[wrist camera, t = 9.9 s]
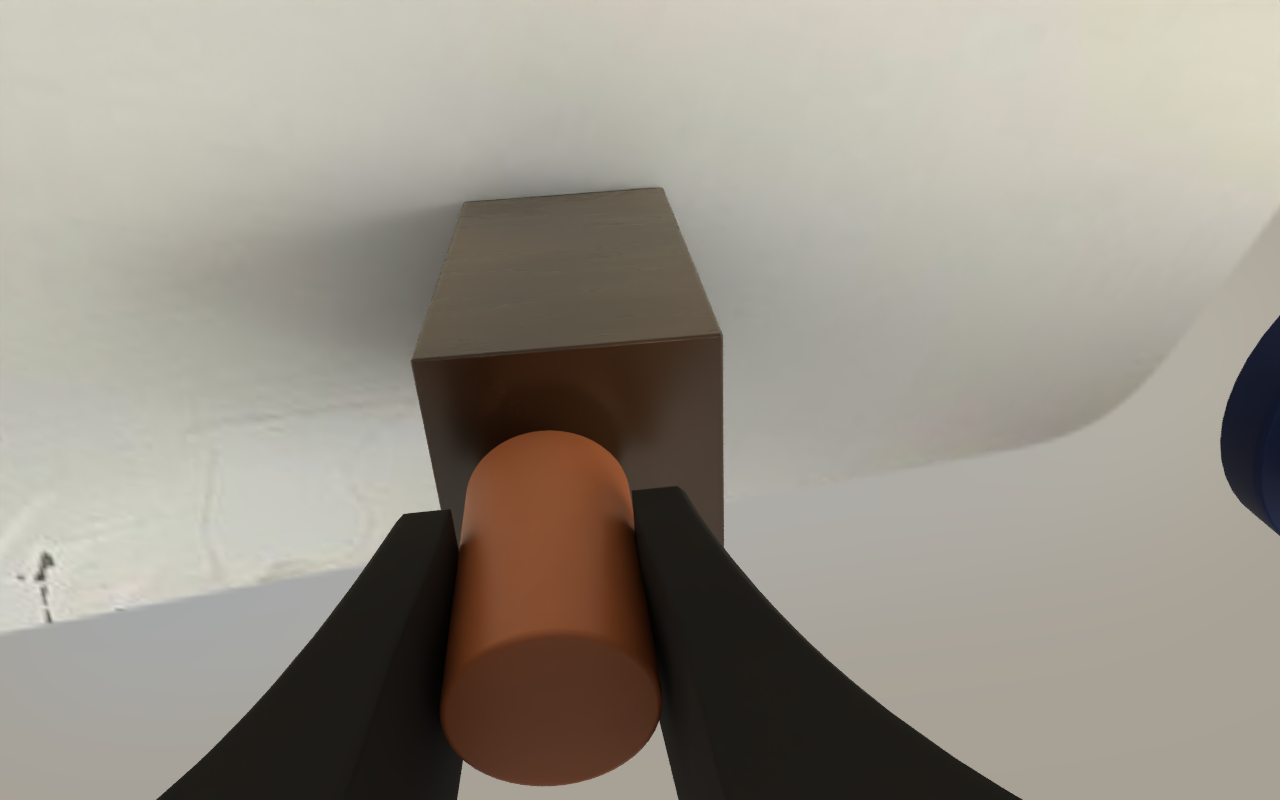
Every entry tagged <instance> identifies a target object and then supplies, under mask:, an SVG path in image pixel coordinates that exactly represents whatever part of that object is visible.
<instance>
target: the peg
mask: <svg viewBox="0 0 1280 800" xmlns="http://www.w3.org/2000/svg"><path fill="white" fill-rule="evenodd" d="M662 707H663V695H662V688H661V682H660V675H659V669H658V663H657V657H656V651H655V644H654V638H653V632H652V626H651V620H650V614H649V609H648V605H647V600H646V595H645V591H644V586H643V581H642V575H641V569H640V563H639V556H638V550H637V544H636V538H635V530H634V515H633V508H632V502H631V496H630V490H629V484H628V480H627V477H626V475H625V473H624V471H623V469H622V467H621V465H620V464H619V463H618V461H617V460H616V459H615V458H614V457H613V456H612V455H611V453H610V452H608V451H607V450H606V449H605V448H603V447H602V446H601V445H599V444H597V443H596V442H594V441H592V440H590V439H588V438H586V437H583V436H580V435H577V434H574V433H569V432H564V431H553V430H548V431H536V432H529V433H526V434H522V435H518V436H516V437H513V438H511V439H509V440H507V441H505V442H503V443H501V444H500V445H498V446H497V447H495V448H494V449H493V450H491V451H490V452H489V453H488V454H487V455H486V456H485V457H484V458H483V459H482V460H481V461H480V462H479V464H478V465H477V466H476V468H475V470H474V471H473V473H472V475H471V478H470V480H469V483H468V487H467V491H466V499H465V507H464V515H463V523H462V531H461V539H460V547H459V555H458V563H457V571H456V579H455V587H454V595H453V603H452V610H451V618H450V626H449V634H448V642H447V650H446V658H445V666H444V674H443V682H442V690H441V698H440V710H439V714H440V721H441V726H442V728H443V731H444V734H445V736H446V738H447V740H448V742H449V744H450V746H451V747H452V748H453V749H454V751H455V752H456V753H457V754H458V755H459V756H460V757H461V758H462V759H463V760H464V761H465V762H466V763H468V764H469V765H471V766H472V767H474V768H475V769H477V770H479V771H480V772H483V773H485V774H486V775H489V776H491V777H494V778H496V779H499V780H503V781H506V782H510V783H515V784H521V785H530V786H557V785H566V784H572V783H578V782H581V781H585V780H589V779H592V778H595V777H598V776H600V775H603V774H605V773H607V772H609V771H612V770H614V769H615V768H617V767H619V766H621V765H622V764H624V763H625V762H627V761H628V760H629V759H631V758H632V757H633V756H635V755H636V754H637V753H638V752H639V751H640V750H641V749H642V748H643V747H644V745H645V744H646V743H647V742H648V741H649V739H650V738H651V736H652V734H653V733H654V731H655V729H656V727H657V724H658V722H659V719H660V716H661V712H662Z"/></svg>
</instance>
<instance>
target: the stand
mask: <svg viewBox="0 0 1280 800" xmlns="http://www.w3.org/2000/svg"><path fill="white" fill-rule="evenodd" d="M411 365H412V370H413V375H414V380H415V385H416V390H417V395H418V400H419V405H420V409H421V414H422V419H423V424H424V429H425V434H426V439H427V444H428V449H429V454H430V458H431V463H432V468H433V473H434V478H435V483H436V488H437V493H438V498H439V502H440V507H441V510H447V509H451V513H452V518H453V523H454V528H455V533H456V538H457V543H458V548H459V547H460V539H461V531H462V523H463V515H464V507H465V499H466V491H467V487H468V483H469V480H470V478H471V475H472V473H473V471H474V470H475V468H476V466H477V465H478V464H479V462H480V461H481V460H482V459H483V458H484V457H485V456H486V455H487V454H488V453H489V452H490V451H491V450H493V449H494V448H495V447H497V446H498V445H500V444H501V443H503V442H505V441H507V440H509V439H511V438H513V437H516V436H518V435H522V434H526V433H529V432H536V431H548V430H553V431H564V432H569V433H574V434H577V435H580V436H583V437H586V438H588V439H590V440H592V441H594V442H596V443H597V444H599V445H601V446H602V447H603V448H605V449H606V450H607V451H608V452H610V453H611V455H612V456H613V457H614V458H615V459H616V460H617V461H618V463H619V464H620V465H621V467H622V469H623V471H624V473H625V475H626V477H627V480H628V484H629V490H630V496H631V502H632V508H633V500H632V490H641V489H650V488H660V487H670V486H679V487H680V488H681V489H682V490H684V491H685V492H686V493H687V495H688V497H689V499H690V500H691V502H692V504H693V505H694V507H695V508H696V510H697V512H698V513H699V514H700V516H701V517H702V519H703V520H704V522H705V523H706V525H707V526H708V528H709V529H710V530H711V532H712V533H713V534H714V536H715V537H716V538H717V540H718V541H719V542H720V544H721V545H722V546H723V548H724V478H723V335H722V332H721V330H720V327H719V325H718V322H717V320H716V318H715V315H714V313H713V310H712V308H711V305H710V303H709V300H708V298H707V295H706V293H705V290H704V288H703V286H702V283H701V281H700V278H699V276H698V273H697V271H696V268H695V266H694V263H693V261H692V258H691V256H690V254H689V251H688V249H687V246H686V244H685V241H684V239H683V236H682V234H681V231H680V229H679V226H678V224H677V222H676V219H675V217H674V214H673V212H672V209H671V207H670V204H669V202H668V199H667V197H666V194H665V192H664V190H663V188H652V189H639V190H625V191H612V192H598V193H585V194H571V195H558V196H544V197H531V198H517V199H504V200H490V201H477V202H465V203H464V205H463V208H462V211H461V214H460V217H459V220H458V223H457V226H456V229H455V232H454V234H453V237H452V240H451V243H450V246H449V249H448V252H447V255H446V258H445V261H444V264H443V267H442V270H441V273H440V276H439V279H438V282H437V285H436V288H435V291H434V294H433V297H432V300H431V303H430V306H429V309H428V312H427V315H426V318H425V321H424V324H423V326H422V329H421V332H420V335H419V338H418V341H417V344H416V347H415V350H414V353H413V356H412V359H411Z"/></svg>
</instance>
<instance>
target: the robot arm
mask: <svg viewBox="0 0 1280 800" xmlns="http://www.w3.org/2000/svg"><path fill="white" fill-rule="evenodd" d="M632 500H633V515H634V530H635V538H636V544H637V550H638V556H639V563H640V569H641V575H642V581H643V586H644V591H645V595H646V600H647V605H648V609H649V614H650V620H651V626H652V632H653V638H654V644H655V651H656V657H657V663H658V669H659V675H660V682H661V688H662V695H663V707H662V712H661V716H660V719H659V721H660V725H661V729H662V733H663V737H664V741H665V746H666V750H667V754H668V758H669V762H670V766H671V770H672V774H673V779H674V782H675V786H676V791H677V795H678V799H679V800H1022V799H1020V798H1019V797H1017V796H1015V795H1014V794H1012V793H1010V792H1009V791H1007V790H1005V789H1004V788H1002V787H1000V786H999V785H997V784H996V783H994V782H992V781H991V780H989V779H988V778H986V777H984V776H983V775H981V774H980V773H978V772H976V771H975V770H973V769H972V768H970V767H968V766H967V765H965V764H964V763H962V762H961V761H959V760H957V759H956V758H954V757H953V756H951V755H950V754H949V753H947V752H946V751H944V750H943V749H942V748H940V747H939V746H937V745H936V744H935V743H933V742H932V741H930V740H929V739H928V738H926V737H925V736H923V735H922V734H921V733H919V732H918V731H916V730H915V729H914V728H912V727H911V726H909V725H908V724H906V723H905V722H904V721H902V720H901V719H900V718H898V717H897V716H895V715H894V714H893V713H891V712H890V711H889V710H887V709H886V708H885V707H884V706H882V705H881V704H880V703H879V702H877V701H876V700H875V699H874V698H872V697H871V696H870V695H869V694H867V693H866V692H865V691H864V690H862V689H861V688H860V687H859V686H858V685H856V684H855V683H854V682H853V681H852V680H850V679H849V678H848V677H847V676H846V675H845V674H843V673H842V672H841V671H840V670H839V669H838V668H837V667H836V666H834V665H833V664H832V663H831V662H830V661H829V660H827V659H826V658H825V657H824V656H823V655H822V654H821V653H820V652H819V651H818V650H817V649H815V648H814V647H813V646H812V645H811V644H810V643H809V642H808V641H807V640H806V639H805V638H804V637H803V636H802V635H801V634H800V633H799V632H798V631H797V630H796V629H795V628H794V627H793V626H792V625H791V624H790V623H789V622H788V621H787V620H786V619H785V618H784V617H783V616H782V615H781V614H780V613H779V612H778V610H777V609H776V608H775V607H774V606H773V605H772V604H771V603H770V602H769V601H768V600H767V599H766V598H765V596H764V595H763V594H762V593H761V592H760V591H759V590H758V589H757V588H756V586H755V585H754V584H753V583H752V582H751V580H750V579H749V578H748V577H747V576H746V574H745V573H744V572H743V571H742V570H741V569H740V567H739V566H738V565H737V564H736V563H735V561H734V560H733V559H732V558H731V557H730V555H729V554H728V553H727V551H726V550H725V549H724V548H723V546H722V545H721V544H720V542H719V541H718V540H717V538H716V537H715V536H714V534H713V533H712V532H711V530H710V529H709V528H708V526H707V525H706V523H705V522H704V520H703V519H702V517H701V516H700V514H699V513H698V512H697V510H696V508H695V507H694V505H693V504H692V502H691V500H690V499H689V497H688V495H687V493H686V492H685V491H684V490H682V489H681V488H680V487H679V486H670V487H660V488H650V489H641V490H632ZM458 555H459V548H458V543H457V538H456V533H455V528H454V523H453V518H452V513H451V509H447V510H437V511H428V512H418V513H408V514H403V515H402V516H401V518H400V519H399V520H398V521H397V522H396V524H395V525H394V526H393V528H392V529H391V531H390V532H389V534H388V535H387V537H386V538H385V540H384V541H383V543H382V544H381V545H380V547H379V548H378V550H377V551H376V553H375V554H374V556H373V557H372V559H371V560H370V561H369V563H368V564H367V566H366V567H365V568H364V570H363V571H362V573H361V574H360V576H359V577H358V578H357V580H356V581H355V583H354V584H353V585H352V587H351V588H350V589H349V591H348V592H347V593H346V595H345V596H344V598H343V599H342V600H341V602H340V603H339V604H338V605H337V607H336V608H335V609H334V611H333V612H332V613H331V615H330V616H329V617H328V619H327V620H326V621H325V622H324V624H323V625H322V626H321V628H320V629H319V630H318V632H317V633H316V634H315V635H314V637H313V638H312V639H311V640H310V641H309V643H308V644H307V645H306V646H305V647H304V649H303V650H302V651H301V652H300V653H299V655H298V656H297V657H296V658H295V659H294V660H293V662H292V663H291V664H290V665H289V667H288V668H287V669H286V670H285V671H284V672H283V674H282V675H281V676H280V677H279V678H278V680H277V681H276V682H275V683H274V684H273V685H272V686H271V688H270V689H269V690H268V691H267V692H266V693H265V694H264V695H263V696H262V698H261V699H260V700H259V701H258V702H257V703H256V704H255V705H254V706H253V708H252V709H251V710H250V711H249V712H248V713H247V714H246V715H245V716H244V717H243V718H242V719H241V720H240V721H239V722H238V724H236V725H235V726H234V727H233V728H232V729H231V731H229V732H228V734H227V735H226V736H225V737H224V738H223V739H222V740H221V741H220V742H219V743H218V744H217V745H216V746H215V747H214V748H213V749H212V750H211V751H210V752H209V753H208V754H207V755H206V756H205V757H203V758H202V759H201V760H200V761H199V762H198V763H197V764H196V765H195V766H194V767H193V768H192V769H190V770H189V771H188V772H187V773H186V774H185V775H184V776H183V777H181V778H180V779H179V780H178V781H177V782H176V783H175V784H173V785H172V787H170V788H169V789H168V790H167V791H166V792H164V793H163V794H162V795H161V796H160V797H159V798H158V799H157V800H457V795H458V789H459V783H460V775H461V769H462V763H463V759H462V758H461V757H460V756H459V755H458V754H457V753H456V752H455V751H454V749H453V748H452V747H451V746H450V744H449V742H448V740H447V738H446V736H445V734H444V731H443V728H442V726H441V721H440V714H439V710H440V698H441V690H442V682H443V674H444V666H445V658H446V650H447V642H448V634H449V626H450V618H451V610H452V603H453V595H454V587H455V579H456V571H457V563H458Z"/></svg>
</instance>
